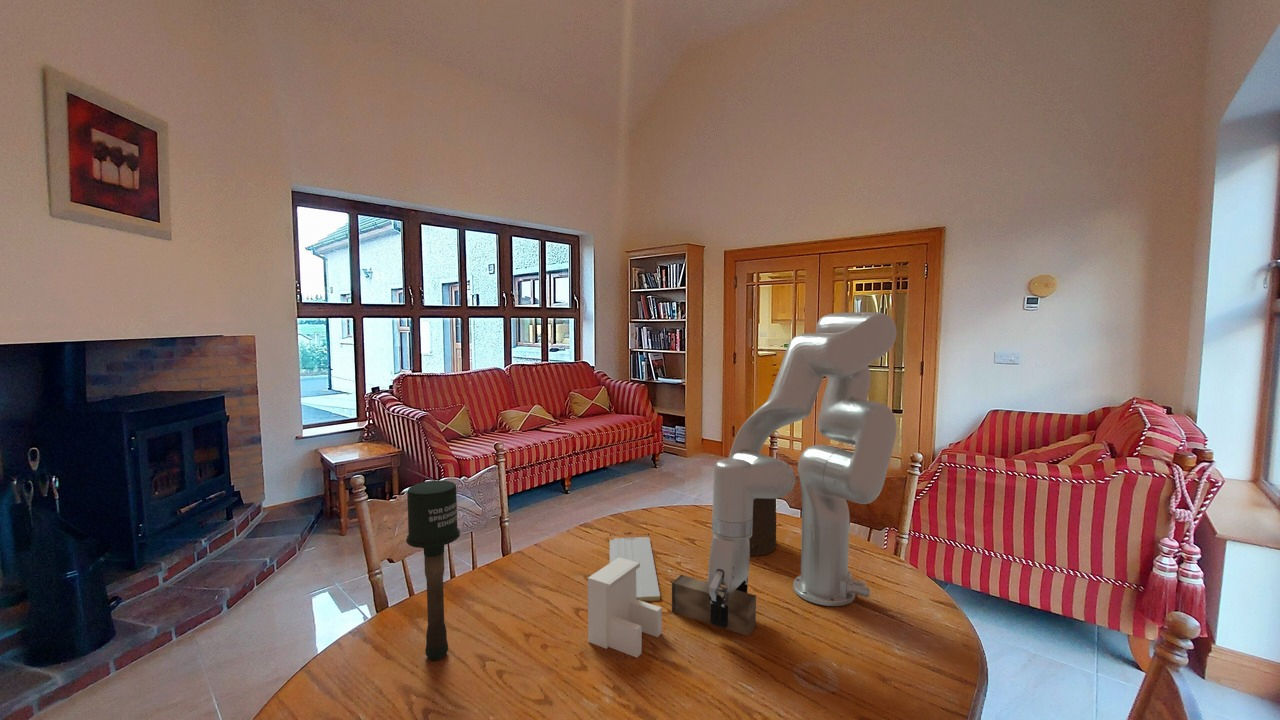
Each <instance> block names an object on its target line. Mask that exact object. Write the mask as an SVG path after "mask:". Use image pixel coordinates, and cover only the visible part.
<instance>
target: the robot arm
mask: <svg viewBox="0 0 1280 720" xmlns="http://www.w3.org/2000/svg"><path fill="white" fill-rule="evenodd" d="M897 332H898V331H897V325H896V323H895V321H894V320H893V318H891V316H889V315H888V314H886V313H884V312H876V311H875V312H874V311H871V312H870V311H867V312H865V311H863V312H862V311H861V312H858V311H857V312H834V313H828V314H825V315H824V316H822V317H821V318H820V319H819V320H818V321H817V324H816V327H815V332H807V333H800V334H798V335H795V336H794V337H793V338H792V339H791V340H790V342H789V343H788V345H787V348H786V350H785V353H784V356H783V358H782V361H781V364H780V368H779V370H778V372H777V375H776V378H775V380H774V382H773V385H772V388H771V392H770V394H769V396H768V398H767V400H766V402H764V403H763V404H762V405H761V406H759V408H757V409H756V410H755V411H754V412H753V413H752V414H751V415H750V416H749V417H748V418H747V419H746V420H745V422H744V423H743V424H742V425H741V427H740V428H739V430H737V433H736V435H735V438H734V440H733V443H732V445H731V448H730V452H729V455H728V458H723V459H720V460H718V461H716V463H715V464H714V466H713V483H712V485H713V489H712V514H711V515H712V516H711V521H712V522H711V533H712V535H713V536H712V537H711V542H710V543H711V544H710V549H709V550H710V552H709V558H708V572H707V582H708V587H709V594H710V596H709V598H710V603H711V620H710V621H711V623H712V624H714V625H713V626H715V625H717V626H716V627H718V626H720V627H719V628H721V627H723V628H722V629H724V628H726V627H727V626H728V606H727V605H726V604H727V601H728V597H729V593H732V592H733V591H734V590H738V591H742V592H746V593H748V583H749V577H748V576H749V572H750V561H751V560H750V559H751V556H750V541H749V538H751V537H752V524H753V500H754V499H756V498H763V499H776V500H777V499H780V498H783V497H785V496H787V495H788V494H790V493H791V492H792V491H793V489H794V488H795V484H796V475H795V474H796V473H795V472H794V470H793V468H792V467H791V466H790V464H789V463H787V462H786V461H783V460H781V459H778V458H775V457H773V456H769V455H766V454H763V453H761V451H762V448H763V446H764V444H765V443H766V441H767V440H768V438H769V437H771V435H772V434H773V433H775V432H776V431H777V430H779V429H780V428H782V427H785V426H788V425H790V424H793V423H796V422H799V421H801V420H805V419H806V418H808V417H809V416H810V414H811V412H812V409H813V407H814V404H815V402H816V401H815V400H816V398H817V395H818V392H819V390H820V387H821V385H822V381H823V378H824V377H827V383H826V387H825V391H824V394H823V398H822V401H821V404H820V405H821V406H820V410H819V412H818V413H819V414H818V418H817V429H818V432H819V433H820V434H821V435H822V436H823V437H825V438H826V439H829V440H831V441H834V442H839V443H842V444H847V445H852V446H854V449H853V451H849V450H846V449H844V448H840V447H837V446H836V447H835V446H830V445H826V444H816V445H815V444H814V445H811V446H808V447H806V448H805V449H804V450H803V452H801V454H800V456H799V459H798V462H797V463H798V464H797V471H798V478H799V479H798V480H799V485H800V490H801V501H802V502H801V507H802V509H801V510H802V511H801V546H800V547H801V551H800V575H798V576H796V577H795V578H794V580H793V584H792V586H793V587H792V588H793V591H794V592H795V594H796V595H798V596H799V597H801V598H802V599H803V600H805V601H807V602H809V603H812V604H816V605H819V606H820V605H821V606H827V607H840V606H846V605H849V604H850V603H852V602H854V600H855V598H856V595H858V596H861V597H865V598H870V594H871V588H870V587H868V586H867V585H866V582H864V581H860V580H855V579H854V578H852V571H851V570H850V571H849V549H850V548H849V546H850V545H849V544H850V510H849V509H850V508H849V505H848V502H847V501H850V502H852V503H856V504H860V505H867V504H868V505H869V504H870V503H873V502H874V501H875V500H876V499H877V498H878V497H879V495H880V494H881V492H882V490H883V488H884V484H885V481H886V476H887V473H888V469H889V464H890V462H891V458H892V453H893V450H894V446H895V442H896V437H897V420H896V417H895V413H894V412H893V410H892V409H891V408H890V407H889V406H887V404H884V403H881V402H878V401H873V400H868V396H869V392H870V387H871V381H872V375H871V370H870V367H869V365H871V364H872V363H873V362H875V361H876V360H879V359H880V358H882V357H883V356H884V355H886V354H887V353H888V352H889V351H890V349H891V348H892V347H893V346H894V344H895V342H896V340H897ZM720 586H724V587H727V588H723V587H720ZM719 591H720V592H723V593H724V596H723V599H722V597H721V596H720V595H719ZM712 624H711V625H712Z"/></svg>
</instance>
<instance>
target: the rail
mask: <svg viewBox="0 0 1280 720" xmlns="http://www.w3.org/2000/svg"><path fill="white" fill-rule="evenodd" d="M720 587H723V588H727V587H726V586H724V585H720ZM719 595H720V596H721V597H722V599H723V596H724V593H723V592H720V591H719ZM709 596H710V594H709V587H708V581H704V580H701V579H698V578H695V577H691V576H688V575H684V574H680V575H678V577H677V578H675V579H674V580H673V581H672V582H671V613H675V614H678V615H681V616H684V617H686V618H687V617H688V618H689V619H693V620H696V621H700V622H703V623H706V624H708V625H712V626H716V627H719V628H722V629H724V630H725V629H726V630H728V631H731V632H734V633H738V634H741V635H742V636H743V635H744V636H746V637H749V636H750V634H751V633H752V631H753V630H754V629H755V627H757V626H756V623H757V622H756V621H757V620H756V619H757V613H756V612H757V595H756V594H752V593H749V592H747V593H746V592H742V591H738V590H734V591H733V592H732V593H729V597H728V601H727V604H726V605H727V606H728V626H727V627H726V628H723V627H720V626H717V625H714V624H712V623H711V621H710V620H711V603H710V598H709Z"/></svg>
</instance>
